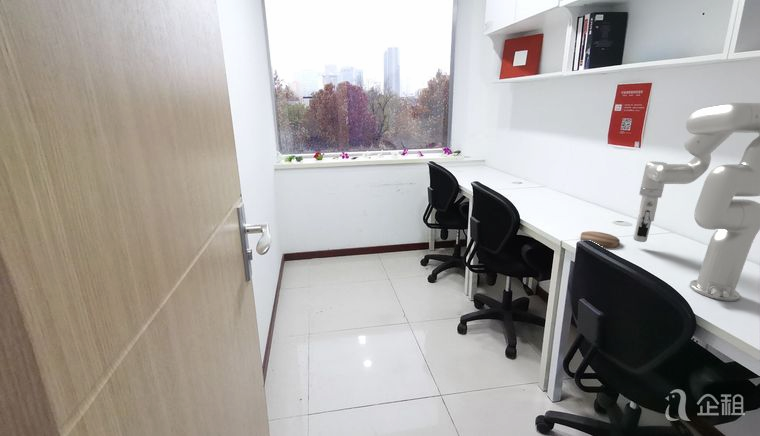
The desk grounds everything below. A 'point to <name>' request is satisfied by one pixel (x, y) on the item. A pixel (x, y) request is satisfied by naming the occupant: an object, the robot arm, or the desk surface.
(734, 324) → the desk surface
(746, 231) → the robot arm
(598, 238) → the walnut board
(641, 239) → the beverage can
